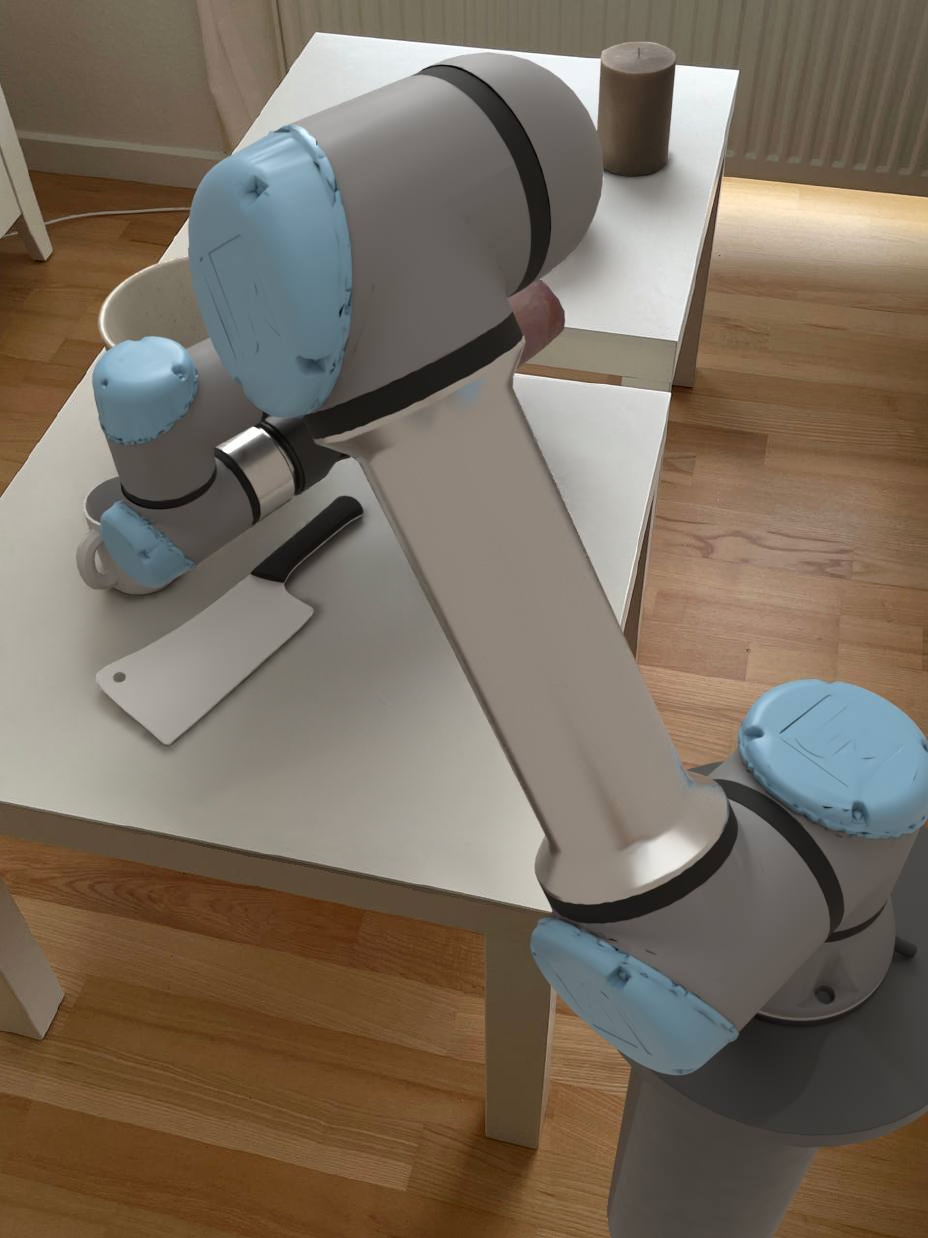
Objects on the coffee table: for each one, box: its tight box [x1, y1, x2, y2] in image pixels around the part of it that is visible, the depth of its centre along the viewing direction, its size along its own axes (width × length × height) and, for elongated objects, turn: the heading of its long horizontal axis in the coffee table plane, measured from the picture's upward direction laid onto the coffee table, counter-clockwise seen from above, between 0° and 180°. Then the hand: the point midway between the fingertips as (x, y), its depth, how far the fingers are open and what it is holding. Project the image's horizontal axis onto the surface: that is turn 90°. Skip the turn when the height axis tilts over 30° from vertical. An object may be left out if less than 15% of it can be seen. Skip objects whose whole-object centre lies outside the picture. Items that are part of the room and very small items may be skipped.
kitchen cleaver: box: [95, 495, 364, 746], centre depth 114 cm, size 31×2×10 cm
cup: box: [75, 474, 175, 596], centre depth 114 cm, size 7×10×9 cm
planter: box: [97, 254, 209, 352], centre depth 125 cm, size 19×19×16 cm
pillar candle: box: [596, 41, 677, 177], centre depth 163 cm, size 10×10×15 cm
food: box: [507, 278, 566, 370], centre depth 119 cm, size 21×9×9 cm, turn 148°
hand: (454, 340), depth 117 cm, fingers closed on food, 7 cm apart
